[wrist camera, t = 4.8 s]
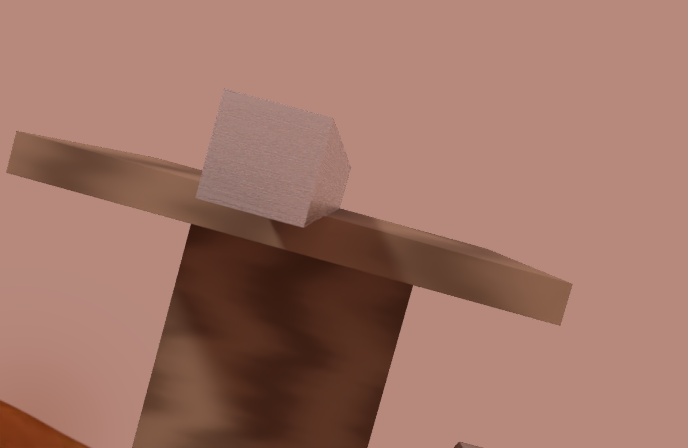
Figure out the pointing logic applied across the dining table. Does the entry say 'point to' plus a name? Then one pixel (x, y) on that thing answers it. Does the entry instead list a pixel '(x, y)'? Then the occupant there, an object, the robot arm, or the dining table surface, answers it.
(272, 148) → the bar
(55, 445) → the dining table surface
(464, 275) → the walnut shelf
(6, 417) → the dining table surface
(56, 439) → the dining table surface
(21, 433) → the dining table surface
